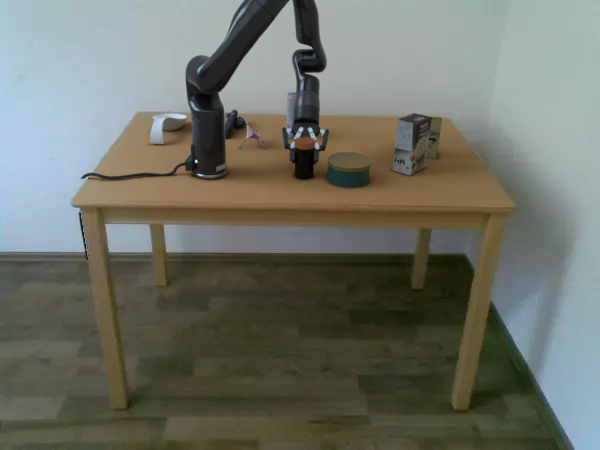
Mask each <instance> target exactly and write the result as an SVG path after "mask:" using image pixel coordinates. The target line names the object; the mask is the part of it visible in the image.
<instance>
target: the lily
mask: <svg viewBox="0 0 600 450" xmlns="http://www.w3.org/2000/svg"><path fill="white" fill-rule="evenodd" d="M244 118H245V117H243V119H244ZM244 120H245V124H246V126H245V127H246V137H245V138H244V140H243V141H242V143H241V145H240V147H239V148H240V149H242V147H243V145H244V143H245V141H246V140H247V139H253V140H256V141H257V142H259V143H260V145H262V146H263V148H265V146H264V144H263V143H262V140H263V138H262V136H260V135H259V133H258V129H256V128H255V130H254V129H252V128H251V126H250V125H249V123H248V121H247V120H246V118H245V119H244ZM265 149H266V148H265Z"/></svg>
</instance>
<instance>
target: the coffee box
mask: <svg viewBox="0 0 600 450" xmlns="http://www.w3.org/2000/svg"><path fill="white" fill-rule="evenodd" d="M432 117H433V116H430V115H429V116H428V115H425V114H421V113H419V114H418V113H415V112H413V113H411V114H407V115H406V116H403V117H400V118H398V121H397V122H398V123H397V129H396V130H397V131H396V136H395V137H396V138H395V145H394V154H393V162H392V172H393V171H394V172H397V173H400V174H403V175H407V176H412V175H414V174H416V173H417V172H419V171H421V170H423V169H424V168H425V167H426V163H427V162H426V160H427V158H426V154H427V148H428V141H429V134H430V127H431V120H432Z"/></svg>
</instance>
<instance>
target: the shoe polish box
mask: <svg viewBox="0 0 600 450" xmlns="http://www.w3.org/2000/svg"><path fill="white" fill-rule="evenodd" d="M431 117H432V120H431V127H430V134H429V141H428V148H427V154H426V159H435V160H436V159H437V157H438V150H439V143H440V137H441V130H442V124H443V121H442V120H443V118H442V117H441V116H440V117H438V116H431Z"/></svg>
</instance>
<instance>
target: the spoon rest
mask: <svg viewBox="0 0 600 450" xmlns="http://www.w3.org/2000/svg"><path fill="white" fill-rule="evenodd" d="M152 120H153V122H152V126H151V130H150V136H149V143H150V144H151V145H165V136H164V131H176V130H179V129H180V128H182V127H183V126H184V125H185V124H186V122H187V120H188V116H187V115H186V114H183V113H160V114H156V115H153V116H152Z"/></svg>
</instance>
